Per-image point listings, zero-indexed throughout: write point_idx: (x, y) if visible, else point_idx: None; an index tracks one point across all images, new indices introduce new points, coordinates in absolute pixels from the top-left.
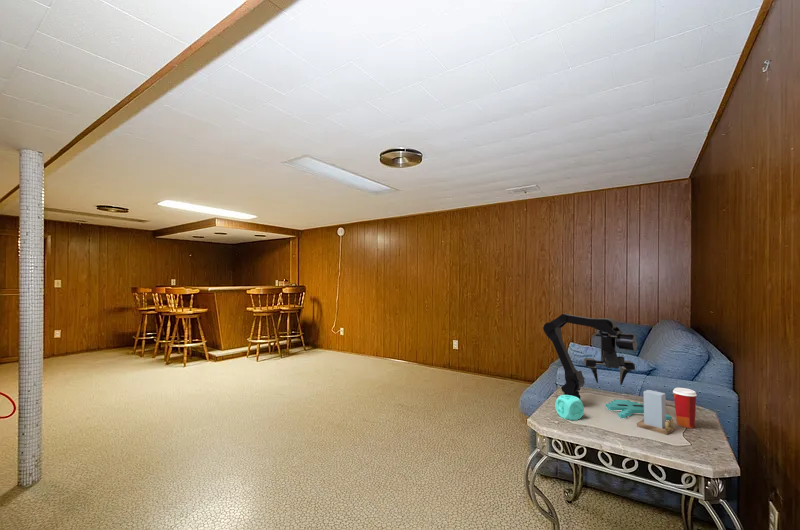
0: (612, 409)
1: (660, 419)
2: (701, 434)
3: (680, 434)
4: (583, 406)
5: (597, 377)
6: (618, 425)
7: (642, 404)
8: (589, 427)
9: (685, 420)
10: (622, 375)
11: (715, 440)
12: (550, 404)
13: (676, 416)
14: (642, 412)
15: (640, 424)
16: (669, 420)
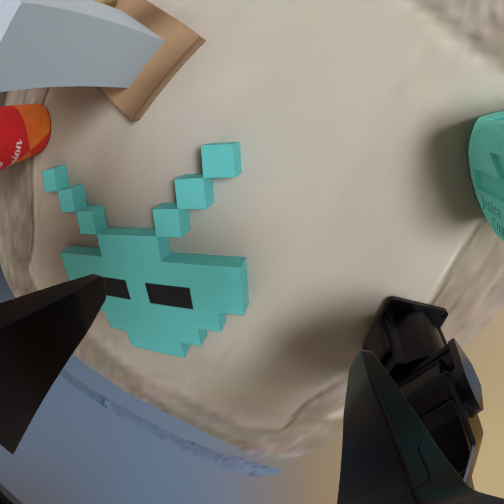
0: (233, 260)
1: (98, 3)
2: None
3: None
4: (498, 127)
5: (383, 405)
6: (305, 32)
7: None
8: (463, 21)
9: (23, 105)
10: (2, 325)
11: None
12: (486, 319)
13: (29, 133)
14: (112, 230)
15: (188, 28)
16: None
